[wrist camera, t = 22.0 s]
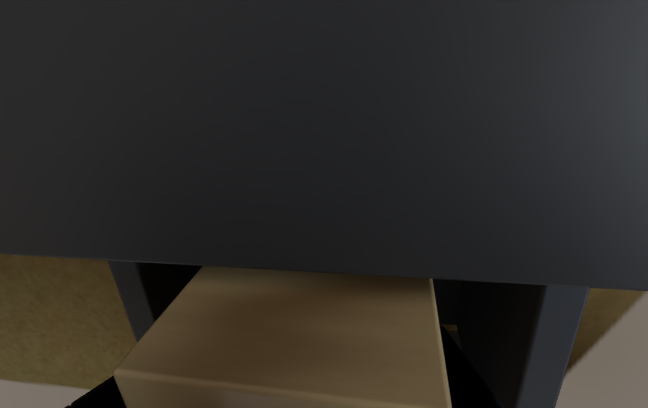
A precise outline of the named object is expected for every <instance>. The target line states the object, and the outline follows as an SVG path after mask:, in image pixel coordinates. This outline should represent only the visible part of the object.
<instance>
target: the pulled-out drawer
mask: <svg viewBox="0 0 648 408" xmlns="http://www.w3.org/2000/svg"><path fill="white" fill-rule="evenodd" d="M107 261H108V263H109V266H110V269H111V272H112V275H113V277H114V280H115V283H116V286H117V288H118V291H119V294H120V297H121V299H122V302H123V305H124V308H125V311H126V313H127V316H128V319H129V322H130V324H131V327H132V330H133V333H134V336H135V338H136V341H137V342H138V341H139V340H140V339H141V338H142V336H143V335H144V334H145V333H146V332H147V331H148V330H149V328H150V327H151V326H152V325H153V324H154V323H155V321H156V320H157V319H158V318H159V317H160V316H161V314H162V313H163V312H164V311H165V310H166V309H167V307H168V306H169V305H170V304H171V303H172V302H173V300H174V299H175V298H176V297H177V296H178V295H179V293H180V292H181V291H182V290H183V289H184V288H185V286H186V285H187V284H188V283H189V282H190V281H191V279H192V278H193V277H194V276H195V275H196V274H197V272H198V271H199V270H200V269H201V268H202V267H203V266H199V265H181V264H163V263H146V262H128V261H111V260H107ZM432 280H433V286H434V293H435V299H436V306H437V312H438V319H439V324H452V325H457V329H458V332H455V331H447V332H448V333H449V334H450V336H451V337H452V338H453V340H454V341H455V343H456V344H457V345H458V347H459V348H460V349H461V351H462V352H463V353H464V355H465V356H466V357H467V359H468V360H469V361H470V363H471V364H472V365H473V367H474V368H475V369H476V371H477V372H478V374H479V375H480V376H481V378H482V379H483V380H484V382H485V383H486V384H487V386H488V387H489V388H490V390H491V391H492V392H493V394H494V395H495V396H496V398H497V399H498V401H499V402H500V403H501V405H502V406H503V407H504V408H555V406H556V402H557V399H558V396H559V392H560V389H561V386H562V382H563V379H564V375H565V372H566V369H567V365H568V362H569V358H570V355H571V352H572V348H573V345H574V341H575V338H576V335H577V331H578V328H579V325H580V321H581V318H582V314H583V311H584V308H585V304H586V301H587V297H588V294H589V291H590V288H585V287H568V286H550V285H533V284H515V283H498V282H480V281H462V280H445V279H432Z"/></svg>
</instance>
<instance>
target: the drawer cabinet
mask: <svg viewBox="0 0 648 408" xmlns="http://www.w3.org/2000/svg"><path fill="white" fill-rule="evenodd" d="M0 252H1V253H2V254H5V255H23V256H40V257H58V258H75V259H93V260H111V261H128V262H146V263H163V264H181V265H199V266H216V267H234V268H251V269H269V270H286V271H304V272H322V273H339V274H357V275H374V276H392V277H410V278H427V279H445V280H462V281H480V282H498V283H515V284H533V285H550V286H568V287H585V288H603V289H621V290H638V291H648V0H0Z"/></svg>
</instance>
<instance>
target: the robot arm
mask: <svg viewBox="0 0 648 408" xmlns="http://www.w3.org/2000/svg"><path fill="white" fill-rule="evenodd" d="M440 332H441V339H442V345H443V352H444V358H445V365H446V372H447V378H448V385H449V391H450V398H451V404H452V408H504V407H503V406H502V405H501V403H500V402H499V401H498V399H497V398H496V396H495V395H494V394H493V392H492V391H491V390H490V388H489V387H488V386H487V384H486V383H485V382H484V380H483V379H482V378H481V376H480V375H479V374H478V372H477V371H476V369H475V368H474V367H473V365H472V364H471V363H470V361H469V360H468V359H467V357H466V356H465V355H464V353H463V352H462V351H461V349H460V348H459V347H458V345H457V344H456V343H455V341H454V340H453V338H452V337H451V336H450V334H449V333H448V332H447V330H446V329H445V328H444V327H443V326H440ZM65 408H127V407H126V405H125V402H124V400H123V398H122V395H121V393H120V390H119V388H118V386H117V383H116V381H115V378H114V376H112V377H110V378H109V379H107V380H106V381H104V382H103V383H101V384H100V385H98V386H97V387H95V388H94V389H92V390H91V391H89V392H88V393H86V394H85V395H83V396H82V397H80V398H78V399H77V400H75V401H74V402H73V403H72V404H71V406H69V405H68V406H66V407H65Z"/></svg>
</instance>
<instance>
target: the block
mask: <svg viewBox="0 0 648 408" xmlns="http://www.w3.org/2000/svg"><path fill="white" fill-rule="evenodd" d="M113 376H114V378H115V381H116V383H117V386H118V388H119V390H120V393H121V395H122V398H123V400H124V402H125V405H126V407H127V408H452V404H451V398H450V391H449V385H448V378H447V372H446V365H445V358H444V352H443V345H442V339H441V332H440V326H439V319H438V312H437V306H436V299H435V293H434V286H433V280H432V279H427V278H410V277H392V276H374V275H357V274H339V273H322V272H304V271H286V270H269V269H251V268H234V267H216V266H203V267H202V268H201V269H200V270H199V271H198V272H197V274H196V275H195V276H194V277H193V278H192V279H191V281H190V282H189V283H188V284H187V285H186V286H185V288H184V289H183V290H182V291H181V292H180V293H179V295H178V296H177V297H176V298H175V299H174V300H173V302H172V303H171V304H170V305H169V306H168V307H167V309H166V310H165V311H164V312H163V313H162V314H161V316H160V317H159V318H158V319H157V320H156V321H155V323H154V324H153V325H152V326H151V327H150V328H149V330H148V331H147V332H146V333H145V334H144V335H143V336H142V338H141V339H140V340H139V341H138V342H137V343H136V345H135V346H134V347H133V348H132V349H131V350H130V352H129V353H128V354H127V355H126V356H125V357H124V359H123V360H122V361H121V362H120V363H119V364H118V366H117V367H116V368H115V370H114V372H113Z"/></svg>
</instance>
